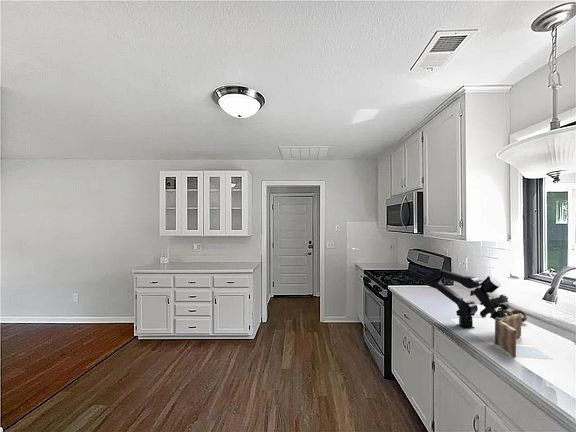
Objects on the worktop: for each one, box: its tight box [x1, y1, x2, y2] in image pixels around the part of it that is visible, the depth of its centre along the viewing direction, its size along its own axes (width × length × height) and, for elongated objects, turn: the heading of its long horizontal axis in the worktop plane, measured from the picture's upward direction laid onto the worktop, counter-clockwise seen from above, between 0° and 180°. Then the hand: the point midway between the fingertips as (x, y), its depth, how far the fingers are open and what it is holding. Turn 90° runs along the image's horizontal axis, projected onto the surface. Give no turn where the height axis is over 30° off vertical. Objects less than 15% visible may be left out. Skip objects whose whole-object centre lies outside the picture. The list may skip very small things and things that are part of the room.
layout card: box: [491, 341, 554, 361], centre depth 154 cm, size 17×17×1 cm
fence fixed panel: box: [494, 317, 517, 358], centre depth 154 cm, size 17×2×12 cm, turn 171°
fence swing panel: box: [501, 313, 523, 339], centre depth 167 cm, size 19×1×11 cm, turn 121°
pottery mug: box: [504, 309, 528, 324], centre depth 198 cm, size 12×10×8 cm
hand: (507, 325), depth 169 cm, fingers closed
